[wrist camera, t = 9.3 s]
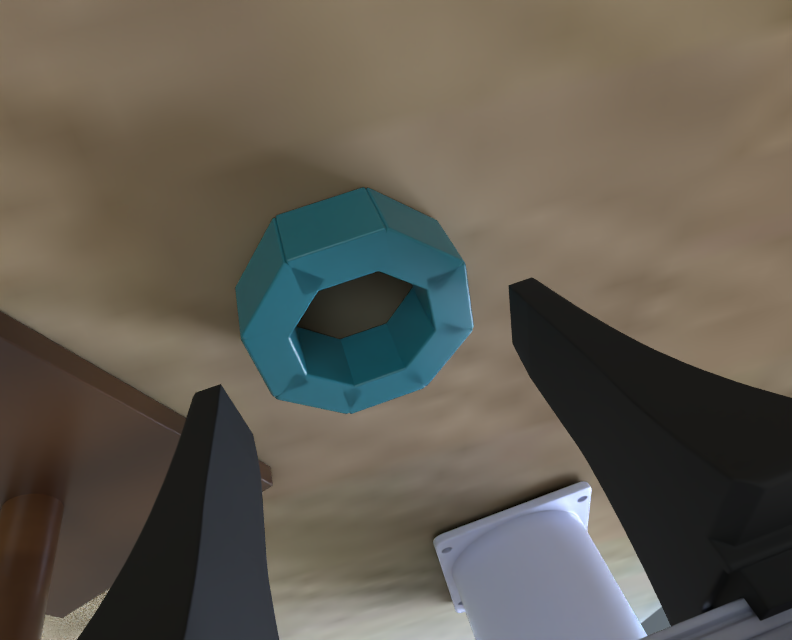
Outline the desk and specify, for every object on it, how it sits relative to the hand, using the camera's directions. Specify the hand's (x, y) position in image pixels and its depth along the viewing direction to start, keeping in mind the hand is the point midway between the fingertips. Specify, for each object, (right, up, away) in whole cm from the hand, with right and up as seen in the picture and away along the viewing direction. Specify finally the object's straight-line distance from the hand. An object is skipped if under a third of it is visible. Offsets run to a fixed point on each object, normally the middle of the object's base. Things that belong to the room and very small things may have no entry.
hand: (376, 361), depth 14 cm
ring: (-1, +2, +2) cm, 3 cm away
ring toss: (-11, -4, +4) cm, 12 cm away
